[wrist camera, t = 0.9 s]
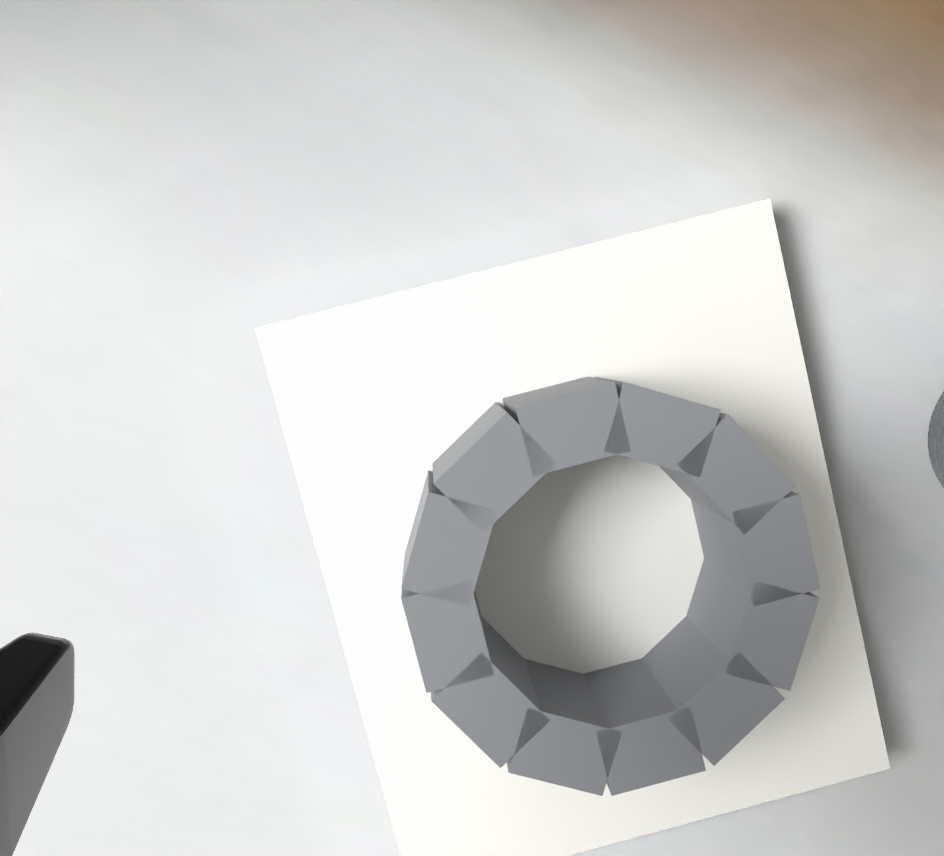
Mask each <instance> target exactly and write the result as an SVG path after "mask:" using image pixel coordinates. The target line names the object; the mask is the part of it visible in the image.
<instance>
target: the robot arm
mask: <svg viewBox="0 0 944 856" xmlns="http://www.w3.org/2000/svg"><path fill="white" fill-rule="evenodd" d="M73 705H74V648H73V645H72V643H71V642H70V641H68V640H66V639H63V638H58V637H53V636H48V635H43V634H38V633H27V634H24V635H21V636H20V637H18V638H16V639H15V640H13V641H11V642H10V643H8V644H7V645H5V646H4V647H2V648H0V856H12V855H13V852H14V850H15V848H16V845H17V843H18V841H19V838H20V836H21V834H22V831H23V829H24V827H25V824H26V822H27V820H28V817H29V815H30V813H31V811H32V808H33V806H34V804H35V801H36V799H37V797H38V794H39V792H40V790H41V787H42V785H43V783H44V780H45V778H46V776H47V773H48V771H49V769H50V766H51V764H52V762H53V759H54V757H55V755H56V752H57V750H58V748H59V745H60V743H61V741H62V738H63V736H64V734H65V731H66V729H67V727H68V724H69V721H70V718H71V715H72V711H73Z"/></svg>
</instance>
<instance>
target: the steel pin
mask: <svg viewBox="0 0 944 856" xmlns="http://www.w3.org/2000/svg"><path fill="white" fill-rule="evenodd" d="M928 448H929V456H930V460H931V463H932V467H933V469H934V472H935V474H936V476H937V478H938V480H939V481H940V483H941V485H942V486H943V487H944V392H943V393H942V395H941V397H940V398H939V400H938V402H937V404H936V406H935V409H934V411H933V414H932V417H931V421H930V425H929V433H928Z"/></svg>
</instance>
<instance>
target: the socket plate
mask: <svg viewBox="0 0 944 856" xmlns="http://www.w3.org/2000/svg"><path fill="white" fill-rule="evenodd" d="M255 331H256V335H257V338H258V342H259V346H260V349H261V353H262V357H263V360H264V364H265V367H266V371H267V375H268V378H269V382H270V386H271V389H272V393H273V396H274V400H275V404H276V407H277V411H278V415H279V418H280V422H281V425H282V429H283V433H284V436H285V440H286V444H287V447H288V451H289V454H290V458H291V462H292V465H293V469H294V473H295V476H296V480H297V483H298V487H299V491H300V494H301V498H302V502H303V505H304V509H305V512H306V516H307V520H308V523H309V527H310V531H311V534H312V538H313V541H314V545H315V549H316V552H317V556H318V560H319V563H320V567H321V570H322V574H323V578H324V581H325V585H326V589H327V592H328V596H329V599H330V603H331V607H332V610H333V614H334V618H335V621H336V625H337V628H338V632H339V636H340V639H341V643H342V646H343V650H344V654H345V657H346V661H347V665H348V668H349V672H350V675H351V679H352V683H353V686H354V690H355V694H356V697H357V701H358V704H359V708H360V712H361V715H362V719H363V723H364V726H365V730H366V733H367V737H368V741H369V744H370V748H371V752H372V755H373V759H374V762H375V766H376V770H377V773H378V777H379V781H380V784H381V788H382V791H383V795H384V799H385V802H386V806H387V810H388V813H389V817H390V820H391V824H392V828H393V831H394V835H395V839H396V842H397V846H398V849H399V853H400V856H569V855H573V854H577V853H581V852H584V851H588V850H592V849H595V848H599V847H603V846H606V845H610V844H614V843H617V842H621V841H625V840H629V839H632V838H636V837H640V836H643V835H647V834H651V833H654V832H658V831H662V830H666V829H669V828H673V827H677V826H680V825H684V824H688V823H691V822H695V821H699V820H703V819H706V818H710V817H714V816H717V815H721V814H725V813H728V812H732V811H736V810H740V809H743V808H747V807H751V806H754V805H758V804H762V803H765V802H769V801H773V800H777V799H780V798H784V797H788V796H791V795H795V794H799V793H802V792H806V791H810V790H814V789H817V788H821V787H825V786H828V785H832V784H836V783H839V782H843V781H847V780H851V779H854V778H858V777H862V776H865V775H869V774H873V773H876V772H880V771H884V770H888V769H890V764H889V759H888V754H887V750H886V745H885V740H884V735H883V731H882V726H881V721H880V716H879V712H878V707H877V702H876V698H875V693H874V688H873V683H872V679H871V674H870V669H869V664H868V660H867V655H866V650H865V646H864V641H863V636H862V631H861V627H860V622H859V617H858V612H857V608H856V603H855V598H854V593H853V589H852V584H851V579H850V575H849V570H848V565H847V560H846V556H845V551H844V546H843V541H842V537H841V532H840V527H839V522H838V518H837V513H836V508H835V504H834V499H833V494H832V489H831V485H830V480H829V475H828V470H827V466H826V461H825V456H824V451H823V447H822V442H821V437H820V433H819V428H818V423H817V418H816V414H815V409H814V404H813V399H812V395H811V390H810V385H809V380H808V376H807V371H806V366H805V362H804V357H803V352H802V347H801V343H800V338H799V333H798V328H797V324H796V319H795V314H794V310H793V305H792V300H791V295H790V291H789V286H788V281H787V276H786V272H785V267H784V262H783V257H782V253H781V248H780V243H779V239H778V234H777V229H776V224H775V220H774V215H773V210H772V205H771V201H770V198H769V199H765V200H761V201H757V202H753V203H749V204H746V205H742V206H738V207H734V208H730V209H726V210H722V211H718V212H714V213H710V214H706V215H702V216H698V217H694V218H690V219H686V220H682V221H678V222H674V223H670V224H666V225H662V226H658V227H654V228H650V229H646V230H642V231H638V232H634V233H630V234H626V235H622V236H618V237H614V238H610V239H606V240H602V241H598V242H594V243H590V244H586V245H582V246H578V247H574V248H570V249H566V250H562V251H558V252H554V253H550V254H546V255H542V256H538V257H534V258H530V259H527V260H523V261H519V262H515V263H511V264H507V265H503V266H499V267H495V268H491V269H487V270H483V271H479V272H475V273H471V274H467V275H463V276H459V277H455V278H451V279H447V280H443V281H439V282H435V283H431V284H427V285H423V286H419V287H415V288H411V289H407V290H403V291H399V292H395V293H391V294H387V295H383V296H379V297H375V298H371V299H367V300H363V301H359V302H355V303H351V304H347V305H343V306H339V307H335V308H331V309H327V310H323V311H319V312H315V313H311V314H308V315H304V316H300V317H296V318H292V319H288V320H284V321H280V322H276V323H272V324H268V325H264V326H260V327H256V328H255Z"/></svg>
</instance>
